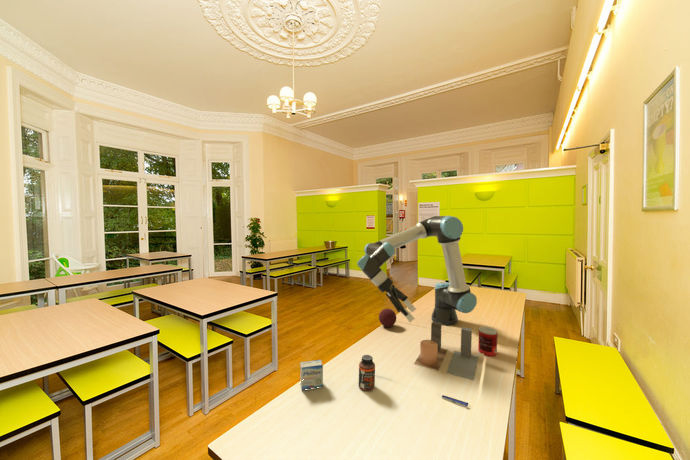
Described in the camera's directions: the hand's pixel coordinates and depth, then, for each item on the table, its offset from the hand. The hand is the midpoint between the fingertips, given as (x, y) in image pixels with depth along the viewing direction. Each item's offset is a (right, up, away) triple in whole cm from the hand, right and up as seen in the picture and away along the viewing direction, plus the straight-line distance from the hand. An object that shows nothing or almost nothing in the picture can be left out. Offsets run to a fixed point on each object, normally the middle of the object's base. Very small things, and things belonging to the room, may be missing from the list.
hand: (413, 315), depth 134 cm
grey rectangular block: (+17, -17, -16) cm, 29 cm away
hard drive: (+8, -19, -34) cm, 39 cm away
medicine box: (-45, -17, -30) cm, 57 cm away
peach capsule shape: (+3, -15, -14) cm, 21 cm away
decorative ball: (-8, -15, +27) cm, 32 cm away
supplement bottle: (-25, -18, -30) cm, 43 cm away
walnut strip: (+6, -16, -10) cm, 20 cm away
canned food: (+33, -17, -4) cm, 37 cm away
